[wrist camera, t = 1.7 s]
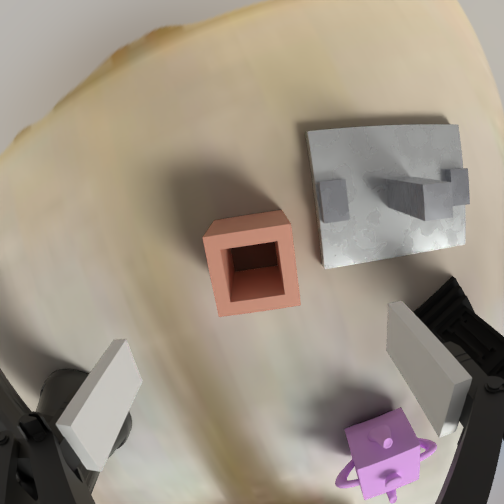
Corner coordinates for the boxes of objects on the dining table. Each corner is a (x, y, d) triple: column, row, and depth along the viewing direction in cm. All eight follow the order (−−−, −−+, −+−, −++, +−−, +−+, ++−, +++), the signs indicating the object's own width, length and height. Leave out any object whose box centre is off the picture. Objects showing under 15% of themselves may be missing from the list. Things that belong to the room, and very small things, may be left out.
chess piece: (472, 315, 36) (561, 394, 17) (430, 353, 38) (505, 451, 19) (452, 276, 35) (559, 354, 16) (407, 318, 36) (494, 422, 17)
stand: (321, 264, 34) (345, 300, 25) (304, 132, 31) (325, 120, 22) (458, 241, 34) (506, 263, 25) (451, 125, 30) (502, 120, 21)
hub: (226, 283, 35) (219, 316, 27) (214, 220, 33) (202, 237, 26) (290, 274, 35) (300, 305, 27) (281, 209, 33) (290, 223, 25)
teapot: (310, 448, 42) (320, 503, 32) (366, 389, 39) (391, 445, 29) (378, 463, 44) (395, 509, 34) (431, 412, 41) (458, 457, 31)
